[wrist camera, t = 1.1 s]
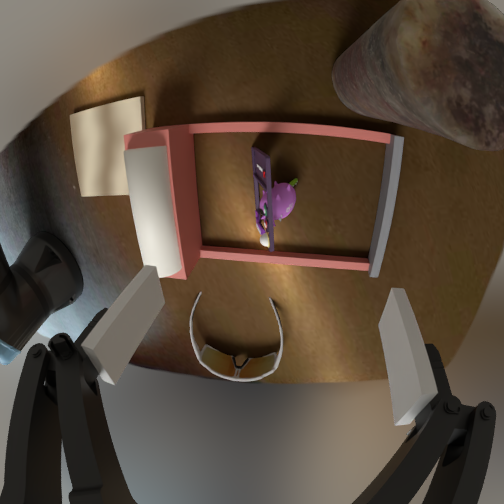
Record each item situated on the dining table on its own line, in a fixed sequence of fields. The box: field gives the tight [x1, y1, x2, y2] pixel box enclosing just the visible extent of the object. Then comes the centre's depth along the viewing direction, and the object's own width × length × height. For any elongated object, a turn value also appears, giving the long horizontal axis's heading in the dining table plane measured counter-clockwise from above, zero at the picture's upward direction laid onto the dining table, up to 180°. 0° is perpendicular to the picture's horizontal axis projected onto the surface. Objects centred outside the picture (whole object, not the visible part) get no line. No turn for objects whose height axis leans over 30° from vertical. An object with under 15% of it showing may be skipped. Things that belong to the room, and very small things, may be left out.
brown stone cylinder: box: [332, 0, 504, 151], centre depth 13 cm, size 8×7×20 cm
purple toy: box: [251, 147, 298, 252], centre depth 27 cm, size 7×5×9 cm
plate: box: [70, 96, 146, 197], centre depth 29 cm, size 12×12×1 cm
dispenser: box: [123, 122, 404, 280], centre depth 26 cm, size 26×16×8 cm, turn 91°
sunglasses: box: [190, 291, 283, 381], centre depth 40 cm, size 14×15×5 cm
